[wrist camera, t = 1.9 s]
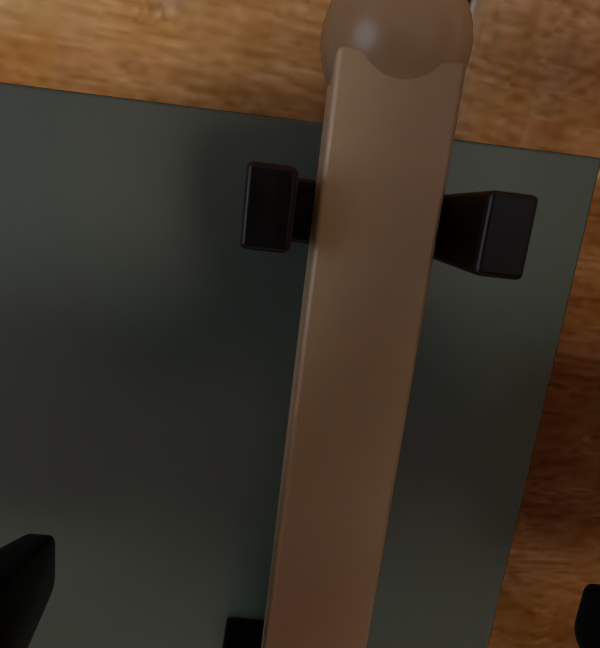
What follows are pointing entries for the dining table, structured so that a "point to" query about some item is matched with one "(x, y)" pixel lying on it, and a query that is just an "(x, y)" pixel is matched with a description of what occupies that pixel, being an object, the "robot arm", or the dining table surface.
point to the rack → (249, 367)
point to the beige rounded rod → (362, 306)
